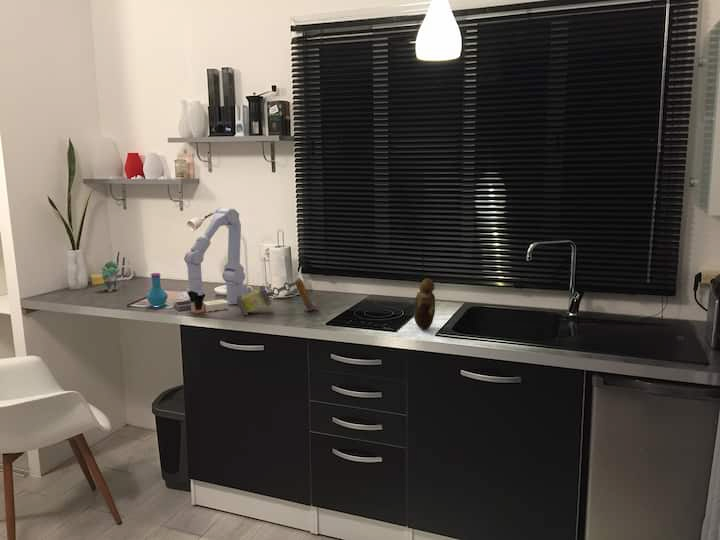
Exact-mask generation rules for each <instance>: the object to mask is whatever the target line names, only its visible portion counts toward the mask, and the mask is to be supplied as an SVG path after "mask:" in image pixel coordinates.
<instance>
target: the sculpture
mask: <svg viewBox="0 0 720 540" xmlns="http://www.w3.org/2000/svg"><path fill="white" fill-rule="evenodd" d="M434 290H435V283H434V282H433V280H432V279H431V278H424V279H423V280H422V281H421V282H420V285H419V291H418V292H417V294H416V296H415V299H414V300H415V301H414V307H413V318H414V321H415V324H416V325H417V327H418V328H420V329H422V330H427V329H429V328H430V327H431V326H432V324H433V322H434V317H435V314H436V313H435V312H436V296H435V293H433V292H434Z"/></svg>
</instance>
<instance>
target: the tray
mask: <svg viewBox="0 0 720 540" xmlns="http://www.w3.org/2000/svg"><path fill="white" fill-rule="evenodd" d="M173 308H175V309H176V310H177V311H178V312H183V311H188V310H191V300H190V299H189V300H182V301H175V302H173Z"/></svg>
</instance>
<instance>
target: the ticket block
mask: <svg viewBox="0 0 720 540" xmlns="http://www.w3.org/2000/svg"><path fill="white" fill-rule="evenodd" d="M225 300H226V299H224V298H223V299H216V300H208V301H203V303H204V309H205V311H206V312H205V313H209V311H211V312H216V311H215V310H218V311H224V309H225V310H229V304H228V302H226V301H225Z"/></svg>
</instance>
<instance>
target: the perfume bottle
mask: <svg viewBox="0 0 720 540" xmlns="http://www.w3.org/2000/svg"><path fill="white" fill-rule="evenodd" d="M161 276H162V274H161V273H159V272H153V273H151V274H150V278H151V286H152V288H151V289H150V291H148V293H147V295H146V300H147V301H148V304H150V305H151V306H163V305H165V306H166V302H167V300H168V296H169V294H168V293H167V291H165V289H163V287H161ZM151 306H150V307H151ZM163 307H164V306H163Z"/></svg>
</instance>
